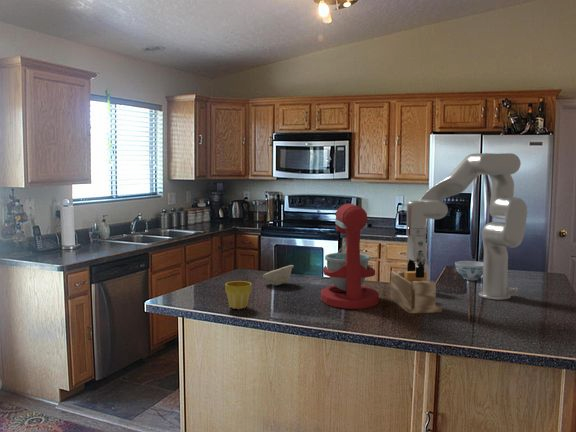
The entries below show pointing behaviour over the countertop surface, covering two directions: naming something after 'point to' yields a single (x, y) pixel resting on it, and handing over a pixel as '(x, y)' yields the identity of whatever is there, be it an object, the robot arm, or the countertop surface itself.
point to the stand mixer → (349, 264)
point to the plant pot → (238, 293)
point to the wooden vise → (414, 294)
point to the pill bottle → (426, 269)
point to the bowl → (279, 275)
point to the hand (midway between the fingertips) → (415, 274)
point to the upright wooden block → (414, 277)
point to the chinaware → (469, 269)
